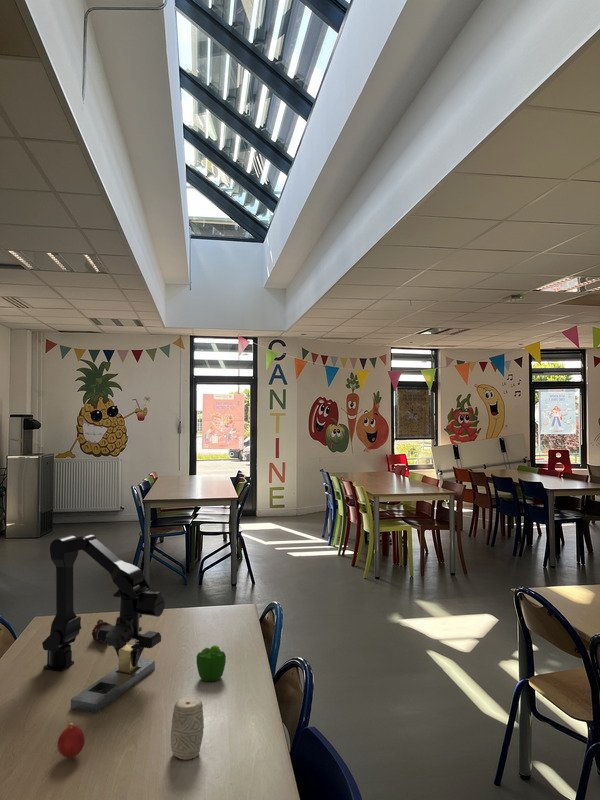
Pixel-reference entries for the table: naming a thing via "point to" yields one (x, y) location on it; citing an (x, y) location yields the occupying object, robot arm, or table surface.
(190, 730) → the carving
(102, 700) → the rail
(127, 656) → the brass peg
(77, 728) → the onion
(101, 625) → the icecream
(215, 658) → the bell pepper
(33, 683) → the table surface
